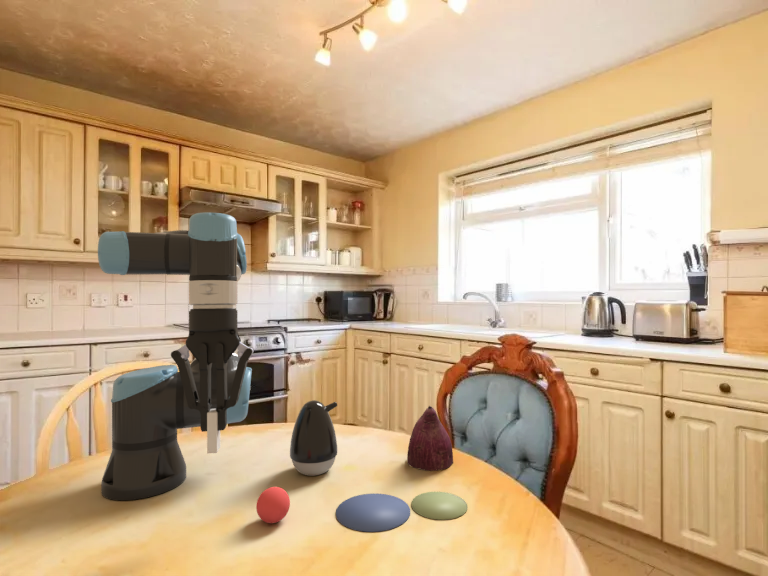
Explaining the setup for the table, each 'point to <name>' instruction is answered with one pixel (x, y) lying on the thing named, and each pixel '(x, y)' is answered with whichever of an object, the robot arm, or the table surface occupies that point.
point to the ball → (273, 504)
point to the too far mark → (439, 505)
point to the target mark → (373, 512)
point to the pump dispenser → (313, 439)
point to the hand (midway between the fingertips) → (213, 450)
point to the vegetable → (429, 444)
